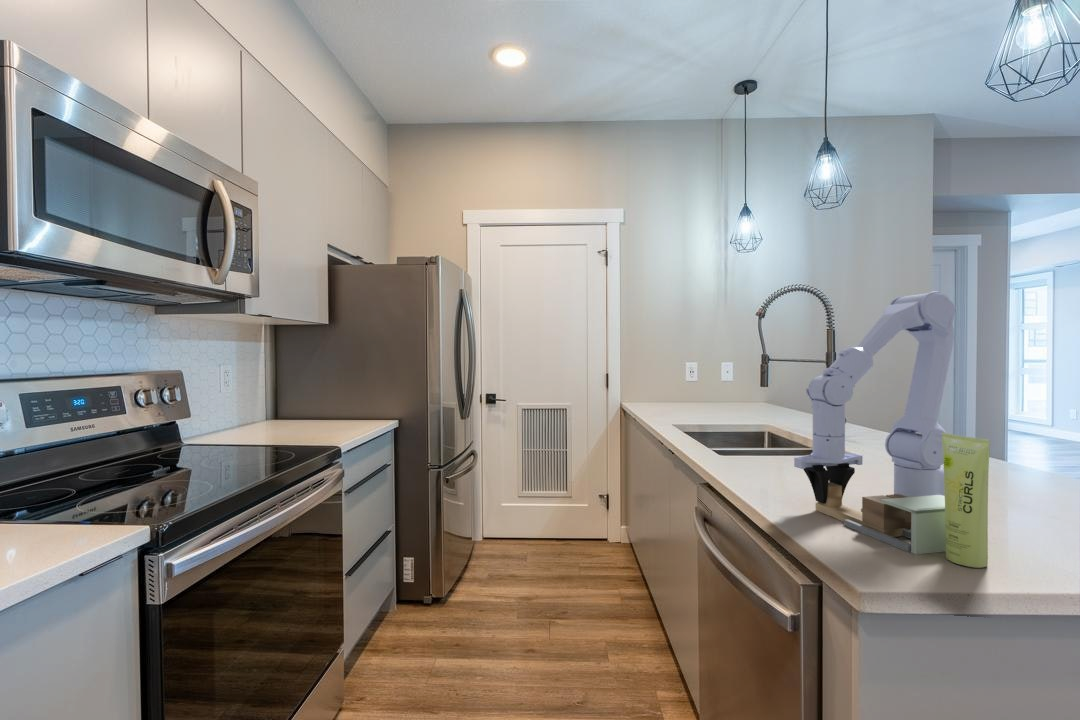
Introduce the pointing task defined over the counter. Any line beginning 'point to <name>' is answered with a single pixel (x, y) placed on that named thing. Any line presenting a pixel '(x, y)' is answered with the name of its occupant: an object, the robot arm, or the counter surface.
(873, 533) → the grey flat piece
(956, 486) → the tube
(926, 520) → the shelter
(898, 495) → the block brown
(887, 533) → the tan stepped wooden piece
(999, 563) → the counter surface
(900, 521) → the cube
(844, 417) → the robot arm
